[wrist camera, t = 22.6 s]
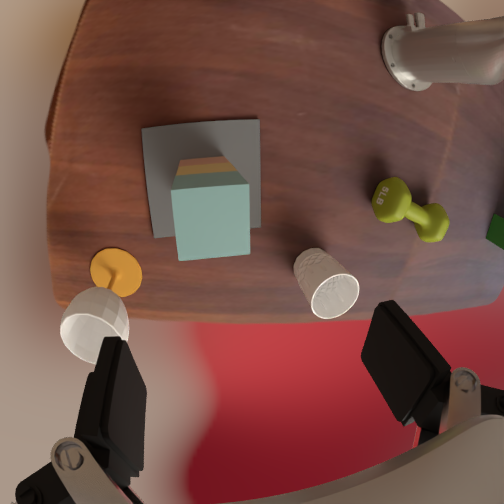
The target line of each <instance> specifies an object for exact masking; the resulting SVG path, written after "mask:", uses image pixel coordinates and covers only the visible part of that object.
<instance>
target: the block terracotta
mask: <svg viewBox="0 0 504 504" xmlns="http://www.w3.org/2000/svg"><path fill="white" fill-rule="evenodd" d="M215 163H229V161H228V160H227V159H226V158H225V156H220V157H207V158H196V159H185V160H180V163H179V166H178V167H181V166H191V165H202V164H215Z"/></svg>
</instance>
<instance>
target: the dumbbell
mask: <svg viewBox="0 0 504 504" xmlns="http://www.w3.org/2000/svg"><path fill="white" fill-rule="evenodd" d="M411 199H412V197H411V194H410V191H409V189H408V187H407V185H406V184H405V183H404V181H402V180H401V179H399V178H398V177H391V178H388V179H385V180H383V181H381V182H380V183H379V184H378V186H377V188H376V190H375V193H374V195H373V198H372V207H373V210H374V213H375V215H376V217H377V219H379V220H380V221H383V222H386V223H390V222H395V221H399V220H401V219H403V218H404V217H406V218H407V219H409V220H411V221H413V222H414V225H415V229H416V231H417V233H418V236H419V237H420V239H421V240H423V241H425V242H436V241H440V240H442V239H443V237H444V235H445V233H446V231H447V229H448V226H449V218H448V216H447V213H446V212H445V210H444V208H443V207H442V206H441V205H439V204H437V203H432V204H427V205H424V206H422V207H420V206H419V205H417V204H415V203H414V202H412V201H411Z"/></svg>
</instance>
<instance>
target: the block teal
mask: <svg viewBox="0 0 504 504" xmlns="http://www.w3.org/2000/svg"><path fill="white" fill-rule="evenodd" d="M171 197H172V208H173V217H174V226H175V234H176V242H177V250H178V257H179V261H184V260H195V259H205V258H215V257H225V256H236V255H246V254H250V202H249V183H248V182H247V181H246V180H245V179H244V178H243V176H242V175H241V174H240V173H239V172H238V171H229V172H213V173H200V174H188V175H178V176H175V178H174V181H173V185H172V188H171Z"/></svg>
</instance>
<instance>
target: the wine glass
mask: <svg viewBox="0 0 504 504" xmlns="http://www.w3.org/2000/svg"><path fill="white" fill-rule="evenodd" d="M90 272H91V276H92V280H93V281H94V283H95V284H96V286H97V287H93V288H90V289H87V290H85V291H83V292H81V293H79V294H78V295H77V296H76V297H75V298H74V299H73V300H72V302H71V303H70V304H69V306H68V307H67V309H66V310H65V312H64V313H63V317H62V320H61V324H60V335H61V338H62V340H63V342H64V344H65V346H66V347H67V348H68V349H69V350H70V351H71V352H72V353H73V354H74V355H76V356H77V357H79V358H80V359H82V360H84V361H87V362H90V363H93V364H96V362H97V359H98V355H99V352H100V348H101V345H102V341H103V339H104V337H111V336H120V337H121V339H122V340H126V342H127V341H128V337H129V321H128V316H127V311H126V308H125V306H124V304H123V302H122V300H121V299H120V297H125V296H128V295H130V294H133V293H134V292H135V291H136V290H137V289H138V288H139V287H140V284H141V280H142V271H141V267H140V265H139V263H138V262H137V260H136V258H134V257H133V256H132V255H131V254H130V253H128V252H127V251H124V250H121V249H118V248H106V249H104V250H102V251H100V252H98V253H97V254H96V255H95V257H94V258H93V259H92V262H91V267H90Z"/></svg>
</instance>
